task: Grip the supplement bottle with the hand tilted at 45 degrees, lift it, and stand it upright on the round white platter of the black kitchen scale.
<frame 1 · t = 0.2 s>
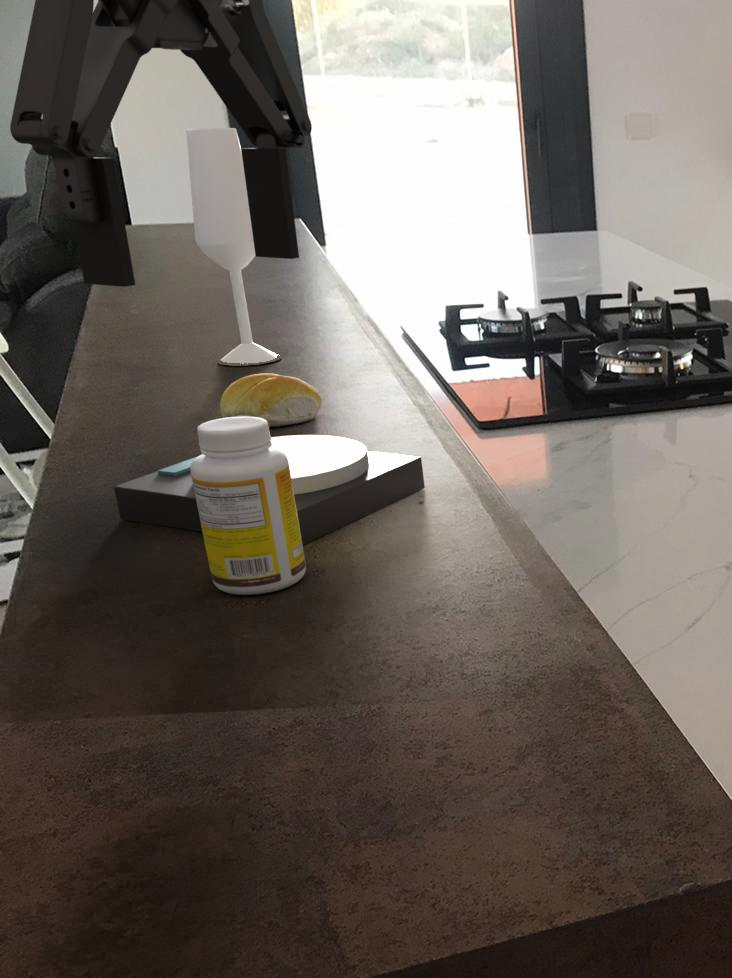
hand: (200, 270, 75), 19 cm above the counter, tool pointing down, fingers open, 13 cm apart
scale: (278, 503, 95), on the counter
bread roll: (274, 419, 118), on the counter
champagne flute: (250, 362, 141), on the counter
supplement bottle: (261, 584, 81), on the counter
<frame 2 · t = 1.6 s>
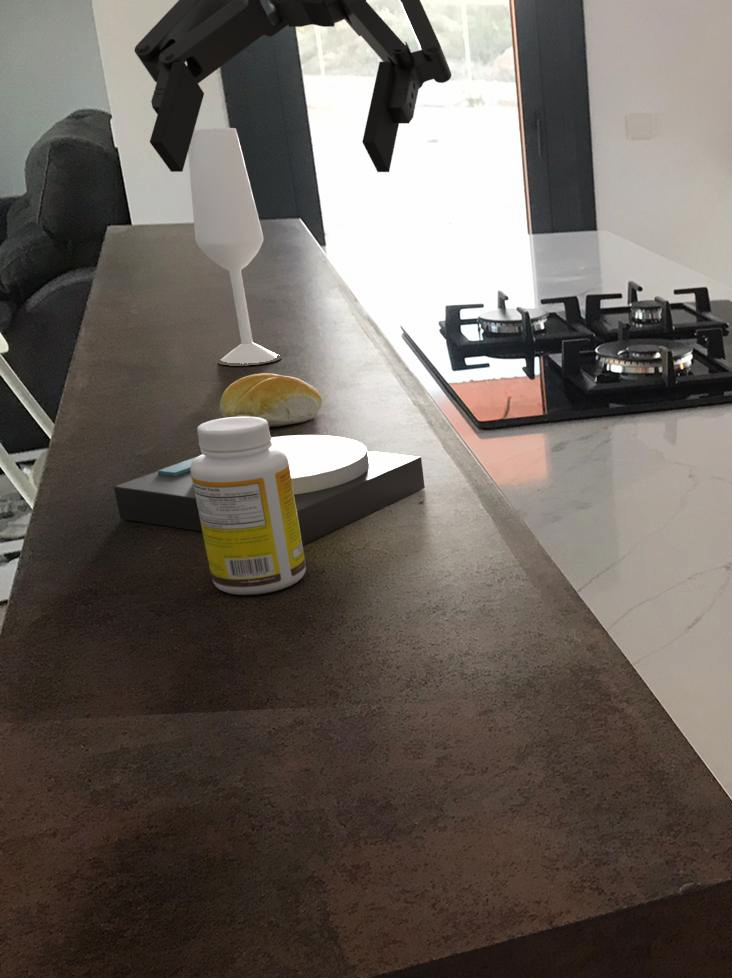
hand: (270, 157, 81), 25 cm above the counter, tool tilted 45°, fingers open, 13 cm apart
nothing on the counter moved.
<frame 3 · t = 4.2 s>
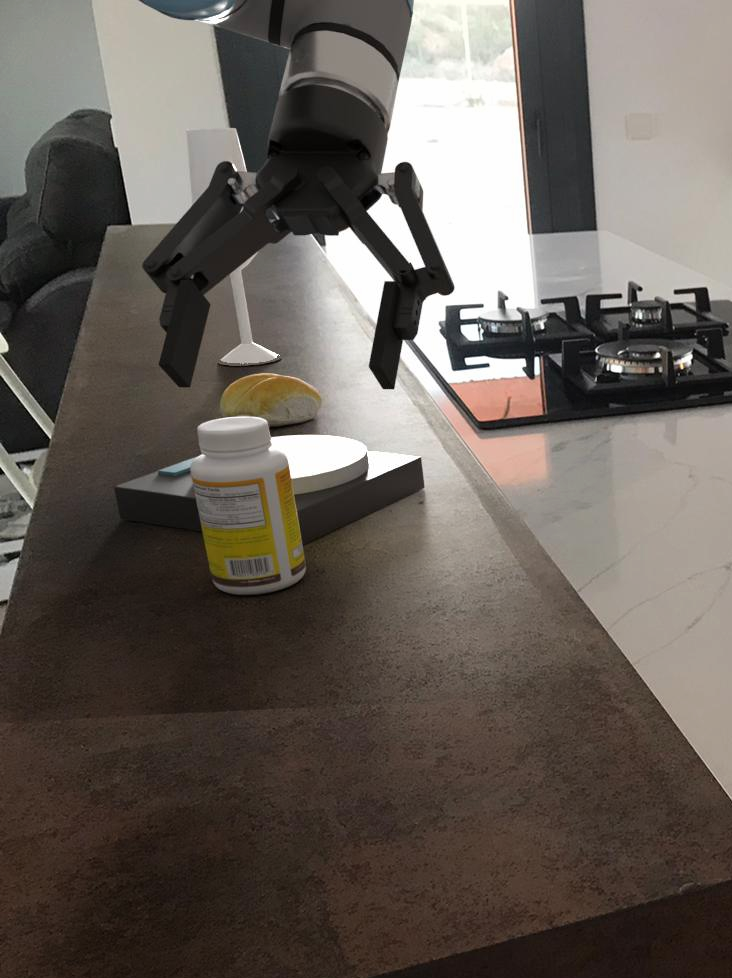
hand: (277, 377, 82), 12 cm above the counter, tool tilted 45°, fingers open, 13 cm apart
nothing on the counter moved.
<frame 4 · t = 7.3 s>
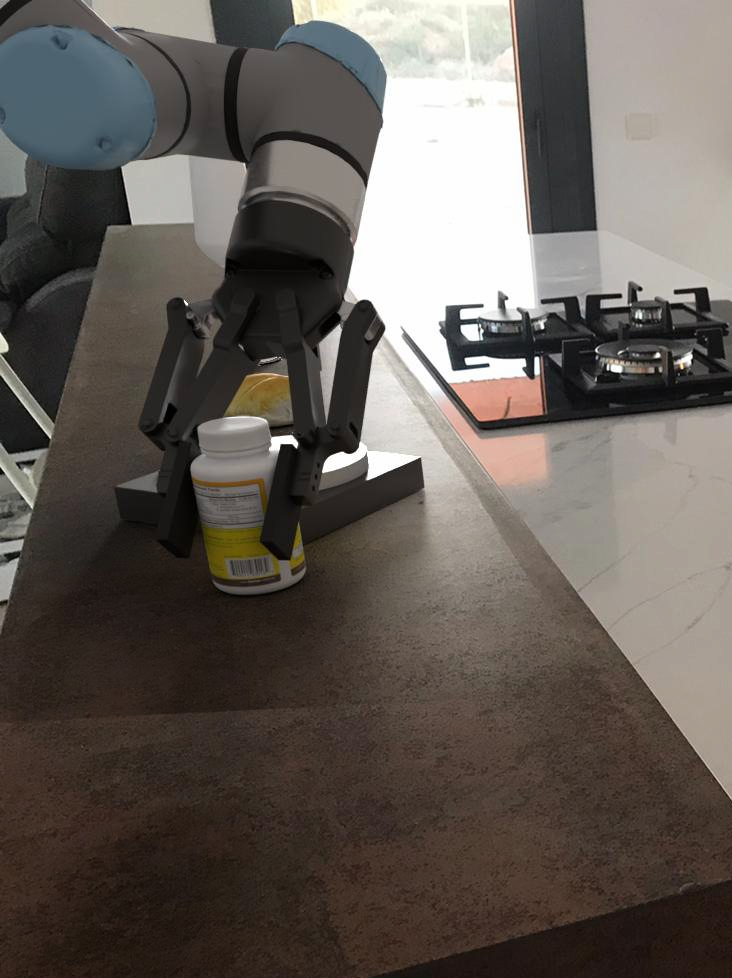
hand: (223, 549, 76), 4 cm above the counter, tool tilted 45°, fingers closed on supplement bottle, 6 cm apart
supplement bottle: (261, 584, 81), on the counter, touching gripper
everything else where it was.
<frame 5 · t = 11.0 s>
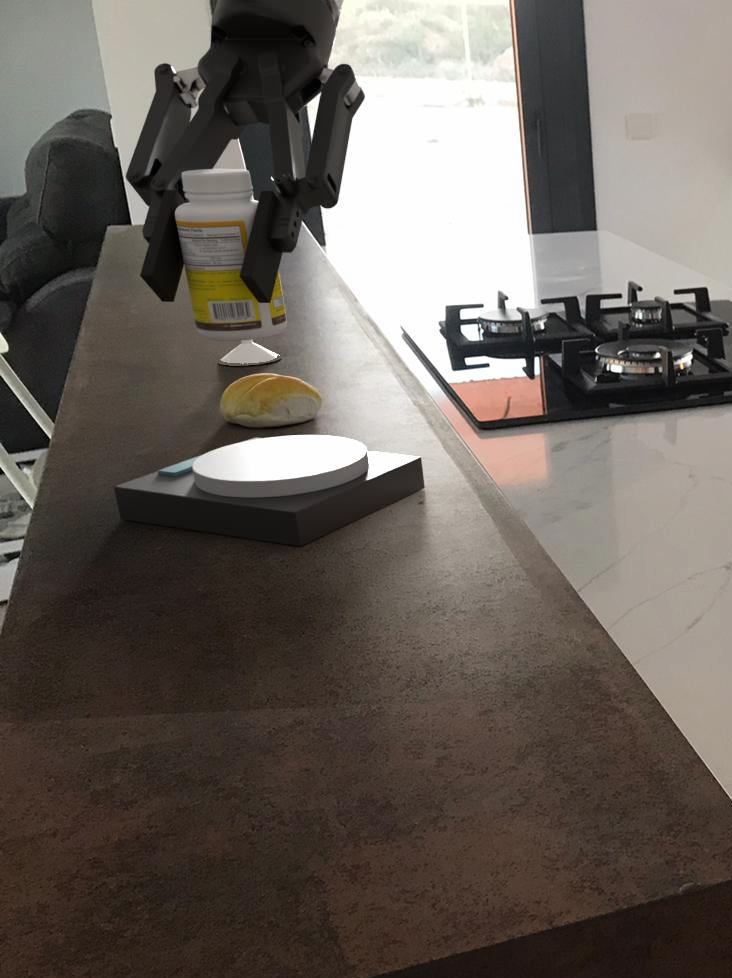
hand: (206, 288, 79), 17 cm above the counter, tool tilted 45°, fingers closed on supplement bottle, 6 cm apart
supplement bottle: (243, 337, 84), point 14 cm above the counter, touching gripper
everything else where it was.
when the fingers open (7 cm above the counter, at t = 14.8 s): supplement bottle stays where it is, resting on scale.
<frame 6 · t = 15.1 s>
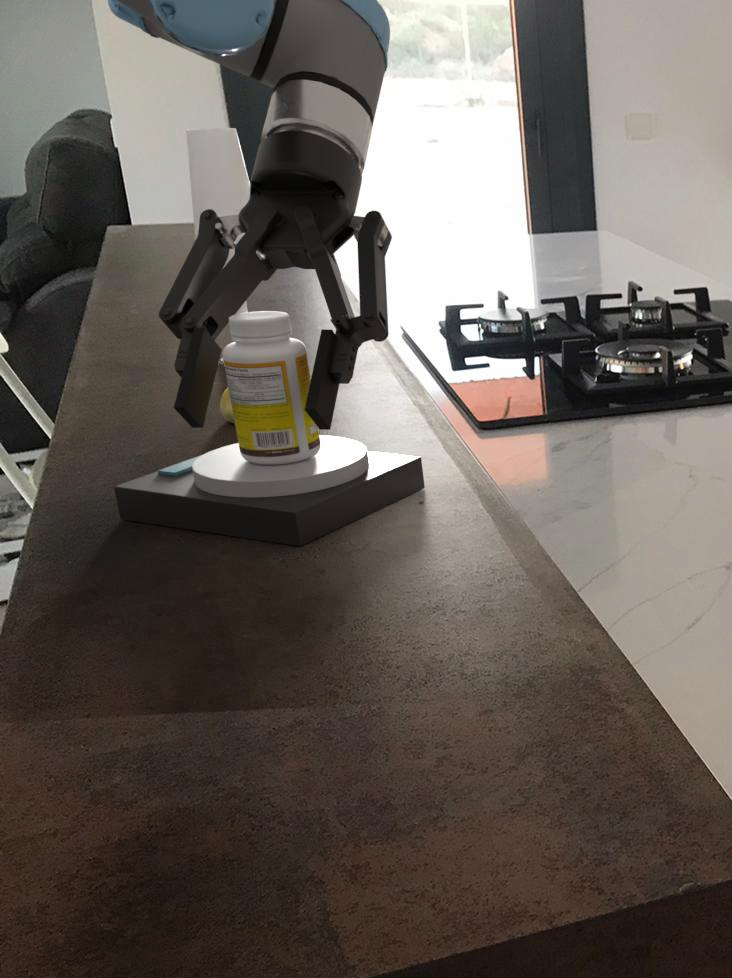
hand: (252, 418, 89), 7 cm above the counter, tool tilted 45°, fingers open, 8 cm apart
supplement bottle: (282, 459, 94), point 4 cm above the counter, touching scale
everything else where it was.
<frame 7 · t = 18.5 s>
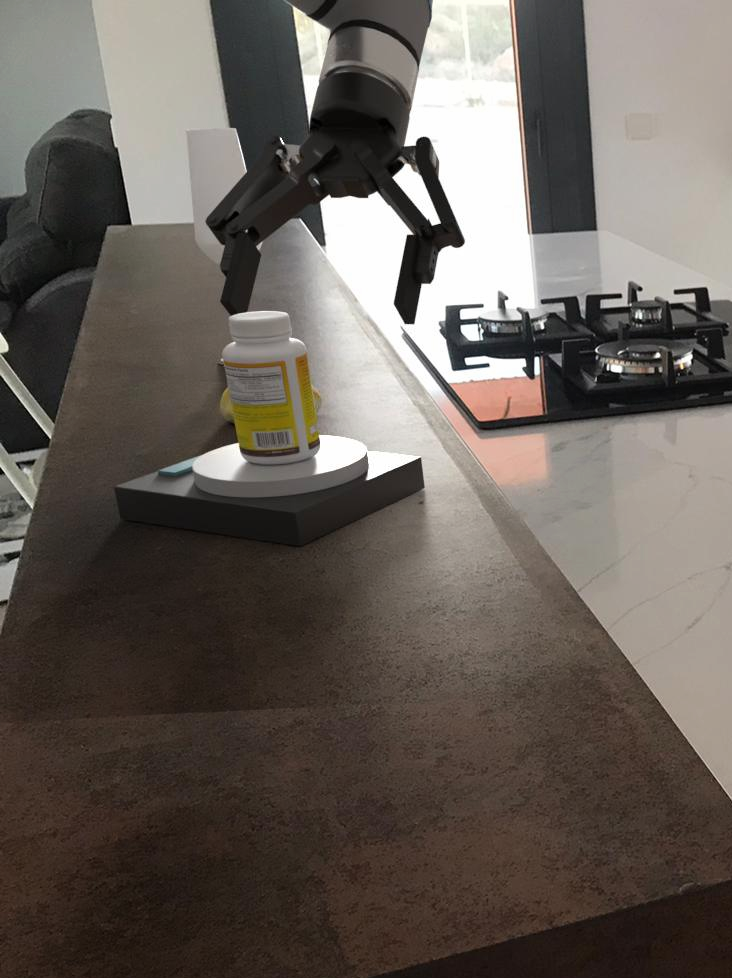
hand: (317, 313, 99), 12 cm above the counter, tool tilted 45°, fingers open, 13 cm apart
nothing on the counter moved.
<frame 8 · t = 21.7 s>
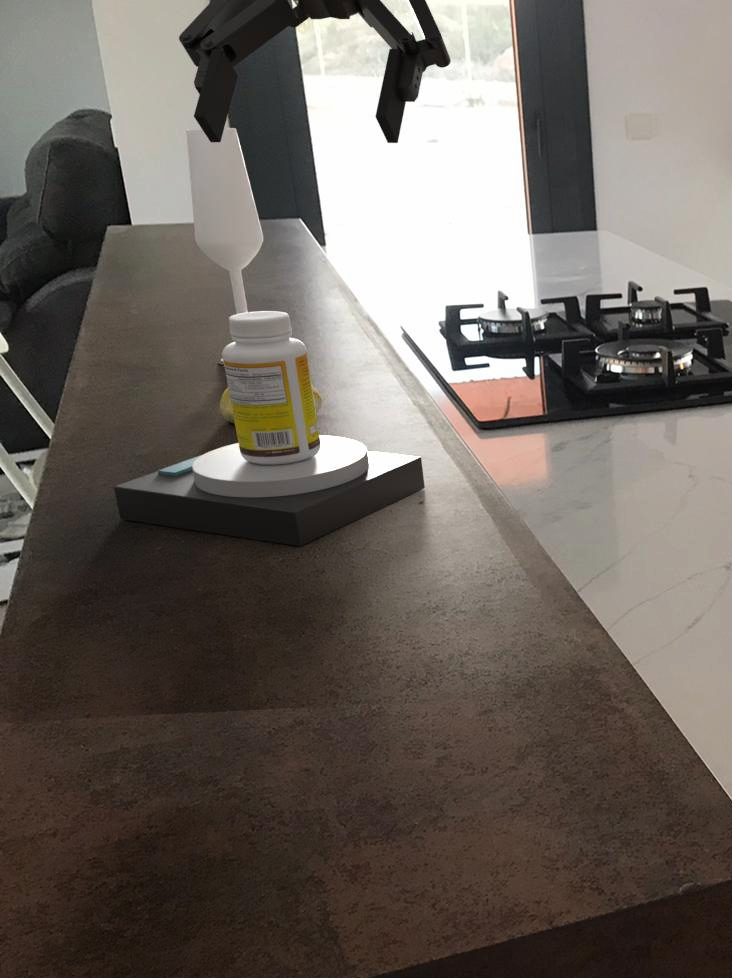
hand: (296, 130, 95), 26 cm above the counter, tool tilted 45°, fingers open, 13 cm apart
nothing on the counter moved.
at the end: supplement bottle inside the target area on the scale (0.1 cm from its centre), point 3.5 cm above the scale's base; supplement bottle tilted 0°; the gripper is holding nothing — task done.
